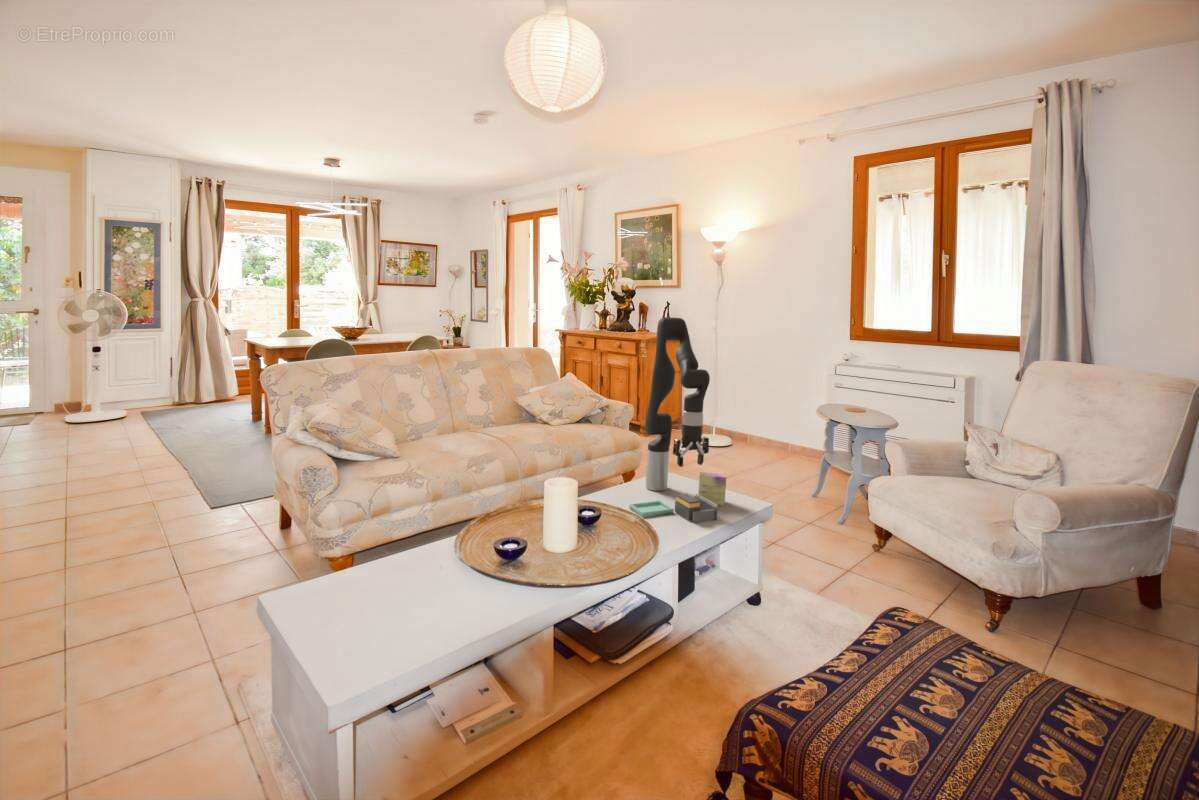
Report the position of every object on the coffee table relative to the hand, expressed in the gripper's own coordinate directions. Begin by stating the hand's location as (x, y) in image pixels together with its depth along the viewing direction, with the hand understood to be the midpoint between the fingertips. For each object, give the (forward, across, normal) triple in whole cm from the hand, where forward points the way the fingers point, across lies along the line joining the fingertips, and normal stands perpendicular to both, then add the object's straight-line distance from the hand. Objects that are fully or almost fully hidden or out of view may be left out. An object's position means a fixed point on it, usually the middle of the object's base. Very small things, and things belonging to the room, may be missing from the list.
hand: (690, 465), depth 222 cm
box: (+20, -18, -11) cm, 29 cm away
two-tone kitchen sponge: (+20, 0, 0) cm, 20 cm away
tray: (+20, +10, -10) cm, 25 cm away
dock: (+20, -4, 0) cm, 20 cm away
